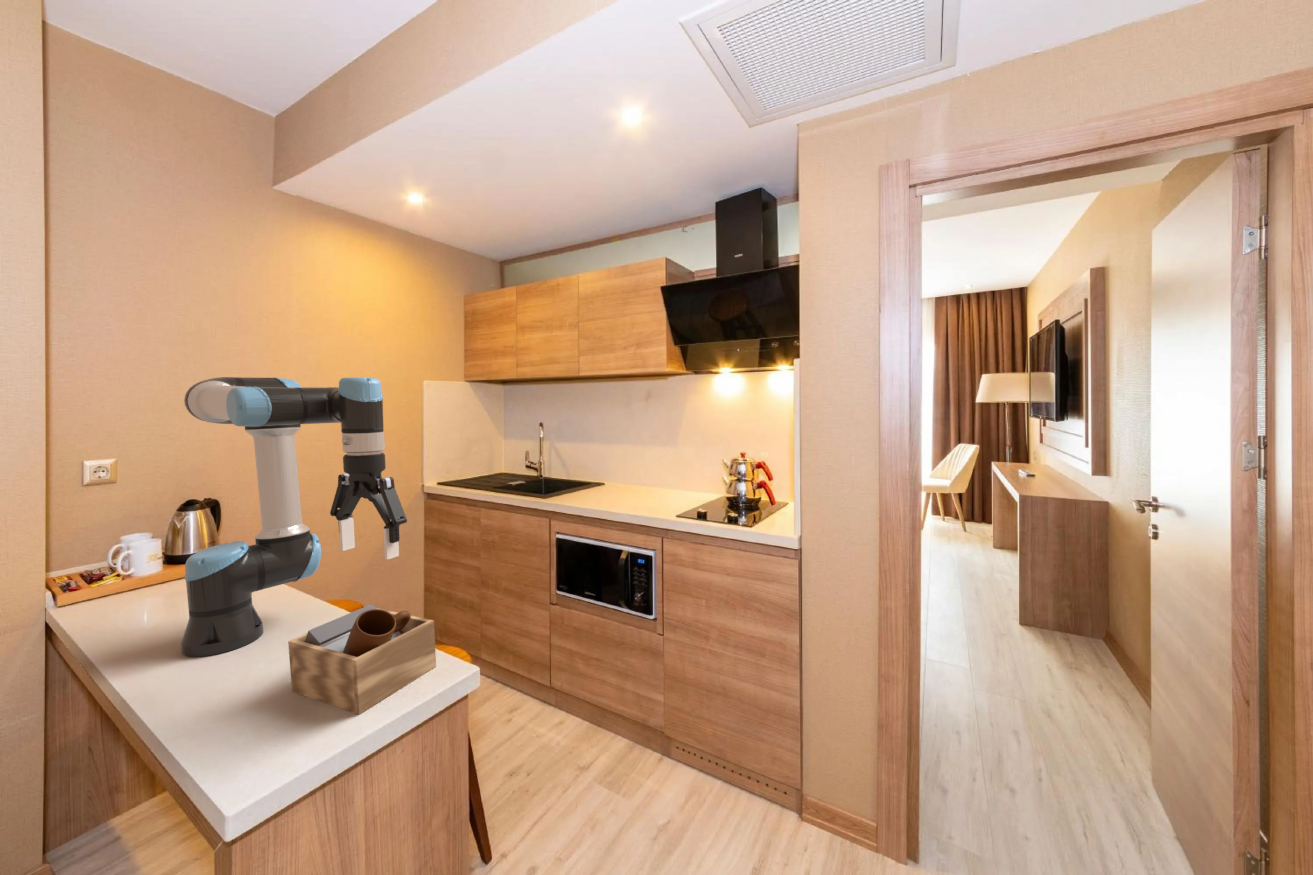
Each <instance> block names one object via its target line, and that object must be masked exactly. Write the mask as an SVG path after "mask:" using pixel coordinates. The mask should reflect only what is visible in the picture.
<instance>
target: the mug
mask: <svg viewBox="0 0 1313 875" xmlns="http://www.w3.org/2000/svg"><path fill="white" fill-rule="evenodd" d="M381 609H382V608H380V609H371V610H367V611H364V612H362V613H361V614H360V615H359V616H358V617H357V619H356V621H355V623H354V625H353V627H352V629H351V632H350V634H349V637H348V640H347V643H346V645H345V648H344V651H343V653H344V654H348V655H351V656H355V657H359V656H361V655H363V654H365V653H367V652H369V651H371V650H373V649H374V648H376V647H378V646H380V645H382V644H385V643H386V642H388V641H390V640H391V638H392V636H393V634H394V633H395V632H397V631H399V630H401V629H402V628H403V627H404V626H405V625H406V624H407V623H408V622H409V620H410V617H411V616H412V615H411V613H410V611H408V610H403V611H402V610H401V611H399V612H398V613H397V614H396V615H394V616H393V615H392V614H390V613H389V612H387V611H385V610H386V609H384V610H381ZM410 615H411V616H410Z"/></svg>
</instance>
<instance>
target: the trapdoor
mask: <svg viewBox="0 0 1313 875" xmlns="http://www.w3.org/2000/svg"><path fill="white" fill-rule="evenodd" d="M377 608H378V607H376V606H375V605H374V604H373V603H371V604H369V605H366V606H364V607H361V608H359V609H357V610H354V611H351V612H349V613H347V614H344V615H342V616H340V617H337V618H335V619H333V620H331V621H327V622H326V623H323V624H321V625H319V626H317V627H314V628H311V629H309V630H308V631H307V636H306V639H305V641H304V642H306V643H309V644H313V645H316V646H320V647H323V648H327V649H330V650H334V651H337V652H341V653H343V651H344V648H345V645H346V643H347V640H348V637H349V634H350V632H351V629H352V627H353V625H354V623H355V621H356V619H357V617H358V616H359V615H360V614H361V613H362V612H364V611H367V610H371V609H377ZM400 635H402V634H401V633H400V632H399V631H397V632H395V633H394V634H393V636H392V638H391V640H392V639H394V638H396V637H398V636H400Z"/></svg>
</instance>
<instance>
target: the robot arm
mask: <svg viewBox="0 0 1313 875" xmlns="http://www.w3.org/2000/svg"><path fill="white" fill-rule="evenodd" d="M383 399H384V395H383V392H382V383H381V380H380V379H379V378H375V377H342V378H340V380H339V381H338V387H335V386H334V387H329V386H327V387H302V386H301V384H300V383H299V382H298V381H296V380H294V379H291V378H282V377H239V376H238V377H232V376H221V377H220V376H219V377H212V378H208V379H204V380H202V381H201V380H200V381H199V382H197V383H194V384H192V386H189V388H188V389H187V391H186V392H185V395H184V400H183V402H184V407H185V408H186V410H187V412H188V413H189V414H190V415H191V416H193V417H194V418H196V419H197V420H199V421H202V422H206V423H212V424H218V425H219V424H221V425H234V426H236V427H244V432H246V433H247V434H248V435H250V436H251V437H252V438H253V446H254V454H255V455H254V458H255V469H256V481H257V489H258V500H259V510H260V511H259V512H260V513H259V514H260V523H261V529H260V531H259V532H258V533H257V534H256V535H255V537H254V539H255V540H254V541H255V544H252V545H249V544H248V543H247V542H246V541H241V540H240V541H239V540H238V541H232V542H225V543H221V544H216V545H212V546H210V547H207V548H205V549H200V550H199V551H197V552H195V553H193V554H192V555H190V556H189V557H188V558H187V560H186V562H185V566H184V567H185V569H184V570H185V571H184V580H185V583H186V584H185V586H186V594H187V596H186V598H187V607H188V617H189V618H188V621H187V624H186V627H185V630H184V633H183V636H182V640H181V646H180V647H181V653H182V655H183V656H187V657H208V656H214V655H218V654H219V655H220V654H224V653H227V652H230V651H234V650H236V649H239V648H241V647H245V646H247V645H248V644H249V645H250V644H251V643H253V642H255V641H257V640H258V639H259V638H260V637H261V636H263V634H264V624H263V621H262V618H261V617H260V616H259V614H258V612H257V610H256V608H255V606H254V605H253V598H252V594H253V593H255V592H259V591H262V590H266V589H269V588H273V587H277V586H280V585H281V586H282V585H284V584H288V583H296V582H298V581H299V580H303V579H306V578H309V577H311V576H312V575H314V574H315V573H316V572H317V570H318V569H319V566H320V563H321V558H322V545H321V543H320V539H319V537H318V535H317V534H316V533H312V532H311V531H310V530H311V529H310V527H309V526H307V525H306V524H304V523H303V518H302V517H303V516H302V506H301V496H300V494H301V493H300V482H299V472H298V471H299V470H298V461H297V460H298V458H297V450H296V437H295V435H296V434H297V433H298V432H299V431H300V430H301V425H310V424H313V425H314V424H315V425H316V424H335V423H336V424H337V423H338V424H339V423H340V428H341V434H342V435H341V442H342V443H341V444H342V452H343V453H345V454H343V456H342V464H343V465H342V466H343V472H344V473H342V474H339V475H338V476H337V487H336V491H335V494H334V498H333V501H332V505H331V507H330V513H329V515H330V516H331V517H335V518H336V520H337V521H338V522H337V523H338V533H339V546H340V547H339V548H340V552H345V551H348V550H352V549H355V548H356V541H355V540H356V539H355V520H354V518H353V517H354V515H353V512H354V510H355V509H356V508H357V505H358V503H360V501H361V498H363V499H365V500H366V499H367V500H368V502H371V503H372V505H373V506H374V508H375V509H376V511H377V512H378V515H380V518H381V520H382V521H383V523H384V524H385V526H384V527H383V528H382V530H383V547H384V553H383V554H384V560H385V561H386V560H392V559H393V558H396V557H397V558H398V557H399V556H400V548H399V546H400V544H399V542H400V526H401V525H403V524H407V523H408V522H407V521H408V519H407V516H406V513H405V511H404V508H403V505H402V503H401V501H400V498H399V495H398V493H397V491H396V490H397V489H396V487H395V481H394V477H393V476H389V477H384V478H383V477H382V472H383V471H385V470H386V454H385V453H384V452H383V451H384V450H386V445H385V431H384V408H383V407H384V404H383V403H384V402H383Z"/></svg>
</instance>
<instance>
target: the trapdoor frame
mask: <svg viewBox="0 0 1313 875" xmlns="http://www.w3.org/2000/svg"><path fill="white" fill-rule="evenodd" d="M376 608H377V609H381V610H385V611H387V612H389V613H390V614H392V615H393V616H394V615H396V614H397V613H399V612H396V611H393V610H388V609H385V608H384V609H383V608H378V607H376ZM410 616H411V617H410V620H409V622H408V623H407V624H406V625H405V626H404V627H403V628H402V629H401V630H399V632H400V633H401V634H402V635H400V636H398V637H396V638H394V639H392V640H390V641H388V642H386V643H385V644H382V645H380V646H378V647H376V648H374V649H373V650H371V651H369V652H367V653H365V654H363V655H361V656H359V657H355V656H351V655H348V654H344V653H341V652H337V651H334V650H330V649H327V648H323V647H320V646H316V645H313V644H309V643H306V642H304V641H305V639H306V636H307V633H308V632H307V633H304V634H302V635H299V636H297V637H295V638H292V639H291V640H288V642H287V643H288V644H287V645H288V655H289V656H288V657H289V669H290V670H289V671H290V680H291V681H290V683H291V684H290V685H291V692H293V693H296V694H299V695H303V696H304V697H307V698H311V699H314V700H317V701H320V702H321V703H324V704H328V705H330V706H333V707H335V708H339V709H342V710H345V711H347V712H350V713H353V714H356V715H358V716H359V715H361V714H363V713H365V712H366V711H368V710H370V709H371V708H373V707H374V706H376V705H378V704H379V703H381V702H382V701H384V700H386V699H388V697H391V696H392V695H394V694H395V693H397V692H398V691H400V690H401V689H403V688H405V687H406V686H408V685H410V684H412V683H413V682H414V681H416V680H418V679H419V678H420V677H422V676H424V675H425V674H427V673H429V672H430V671H432V670H433V669H435V668H436V667H437V657H436V656H437V655H436V652H437V651H436V637H435V636H436V634H435V633H436V632H435V620H433V619H428V618H425V617H419V616H417V615H416V616H415V615H411V614H410Z"/></svg>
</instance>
